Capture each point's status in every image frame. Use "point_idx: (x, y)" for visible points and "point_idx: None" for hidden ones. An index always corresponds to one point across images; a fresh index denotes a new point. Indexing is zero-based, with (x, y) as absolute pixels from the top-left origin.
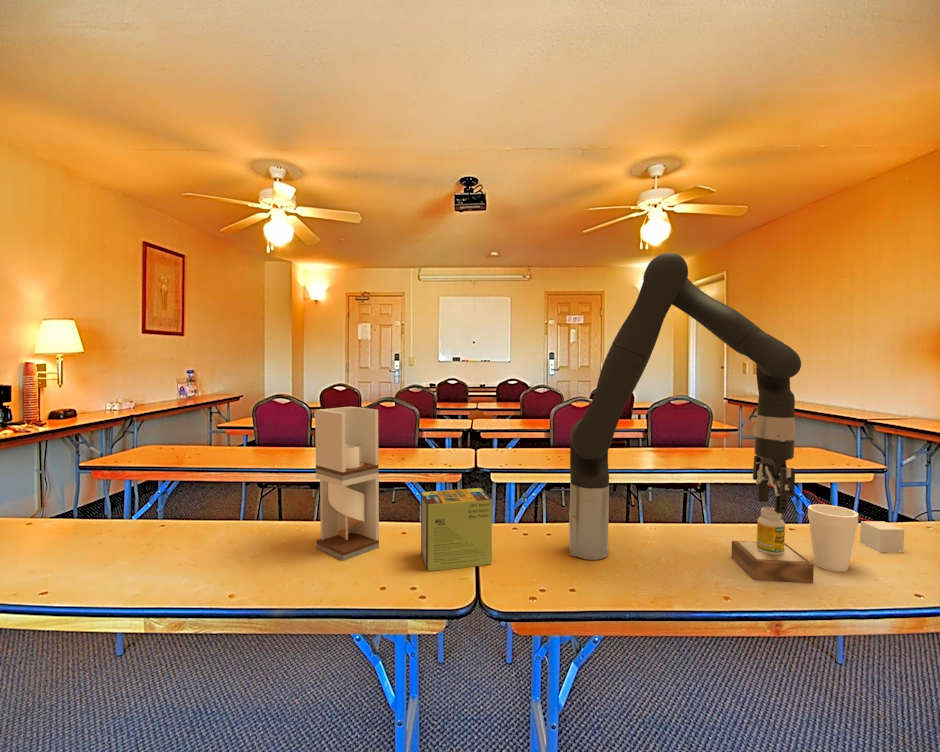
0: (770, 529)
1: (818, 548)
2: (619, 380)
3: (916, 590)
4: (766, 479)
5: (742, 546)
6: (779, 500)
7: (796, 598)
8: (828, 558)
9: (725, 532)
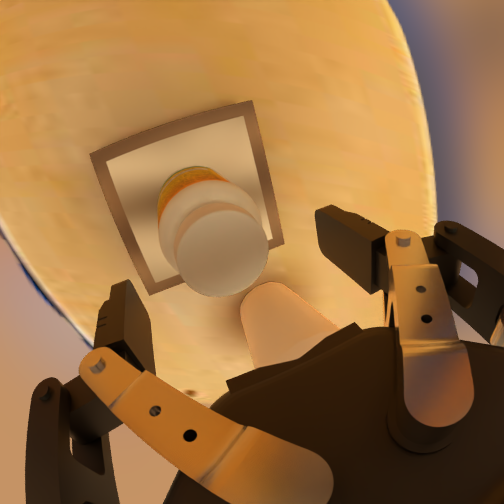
0: (158, 223)
1: (264, 310)
2: None
3: (209, 392)
4: (387, 312)
5: (207, 125)
6: (102, 342)
7: (48, 235)
8: (247, 316)
9: (391, 125)
